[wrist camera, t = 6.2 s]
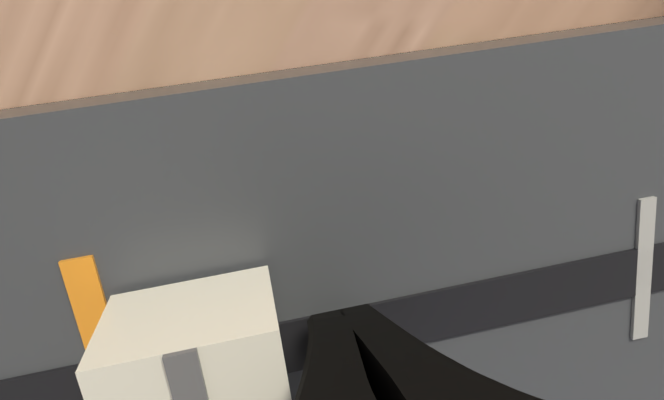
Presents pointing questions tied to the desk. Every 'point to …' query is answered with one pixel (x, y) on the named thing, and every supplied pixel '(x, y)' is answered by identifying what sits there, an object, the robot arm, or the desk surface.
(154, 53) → the desk surface
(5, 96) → the desk surface
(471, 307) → the console
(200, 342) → the fader cap
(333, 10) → the desk surface
